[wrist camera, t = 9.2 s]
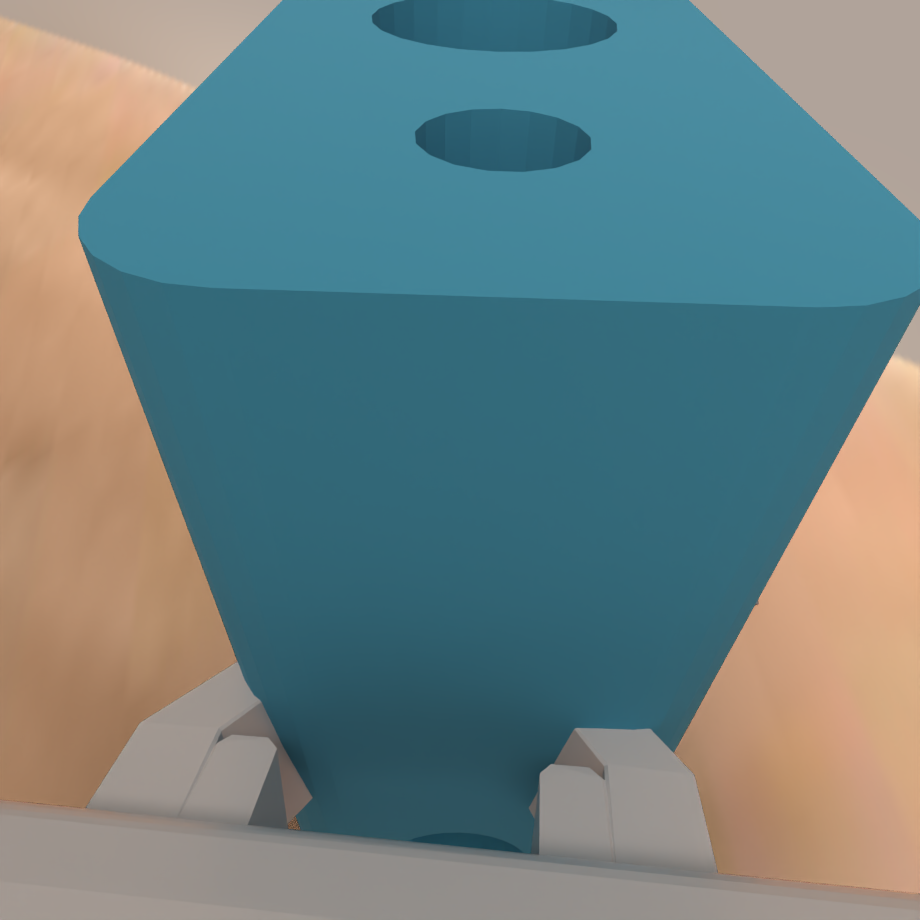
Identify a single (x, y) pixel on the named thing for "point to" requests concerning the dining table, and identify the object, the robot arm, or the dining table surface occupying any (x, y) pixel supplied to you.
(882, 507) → the dining table surface
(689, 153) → the block
